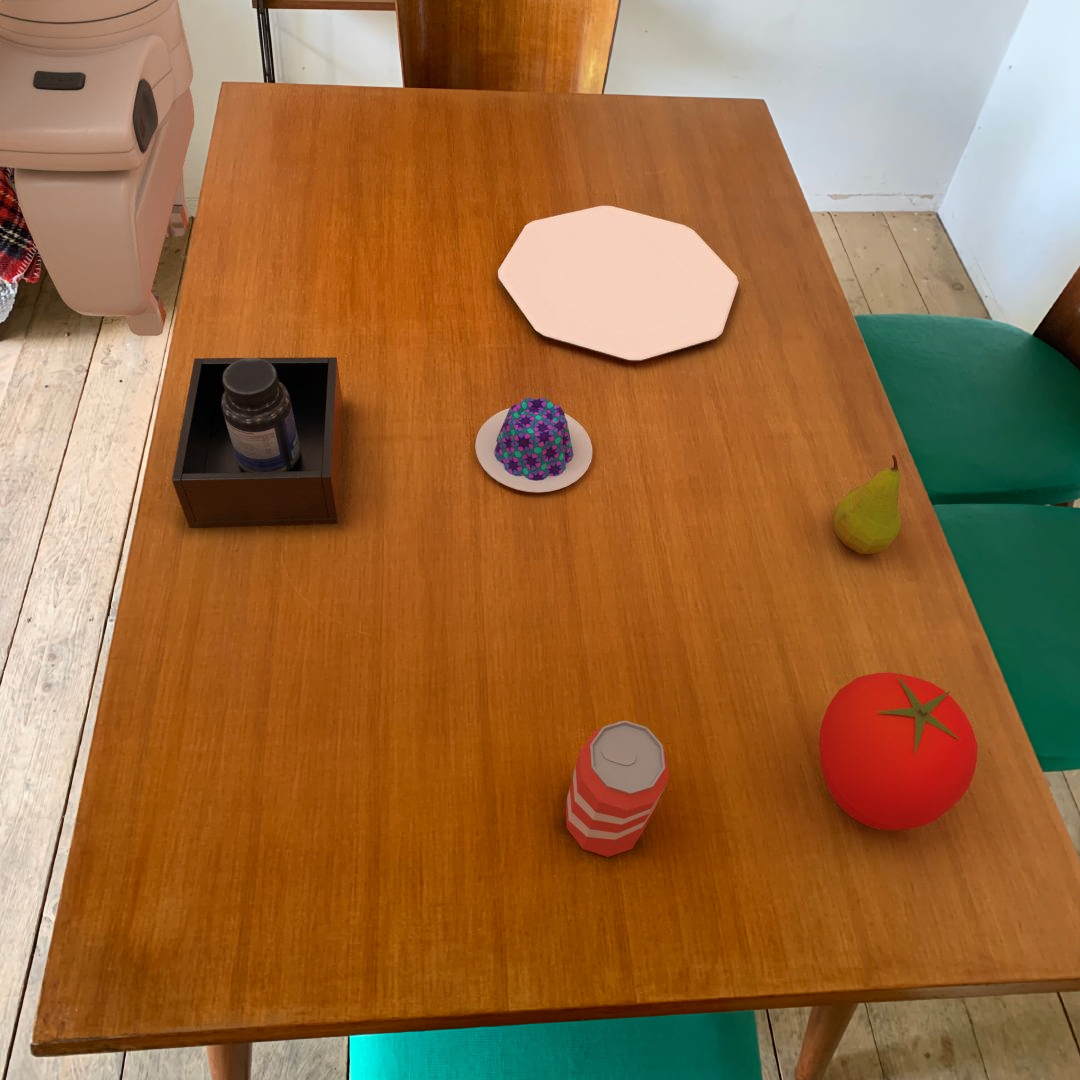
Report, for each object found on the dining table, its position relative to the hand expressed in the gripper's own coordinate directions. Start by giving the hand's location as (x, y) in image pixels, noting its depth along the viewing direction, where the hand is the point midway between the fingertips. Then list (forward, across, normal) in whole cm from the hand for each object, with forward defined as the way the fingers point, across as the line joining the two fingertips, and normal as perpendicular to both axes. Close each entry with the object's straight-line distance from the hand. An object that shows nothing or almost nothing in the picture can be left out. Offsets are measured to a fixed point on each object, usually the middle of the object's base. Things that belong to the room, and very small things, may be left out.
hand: (163, 276), depth 56 cm
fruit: (+33, -3, +58) cm, 66 cm away
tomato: (+33, +22, +51) cm, 64 cm away
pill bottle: (+32, -14, 0) cm, 35 cm away
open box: (+33, -14, 0) cm, 36 cm away
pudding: (+33, -15, +26) cm, 45 cm away
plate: (+33, -42, +39) cm, 66 cm away
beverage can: (+33, +24, +29) cm, 50 cm away
